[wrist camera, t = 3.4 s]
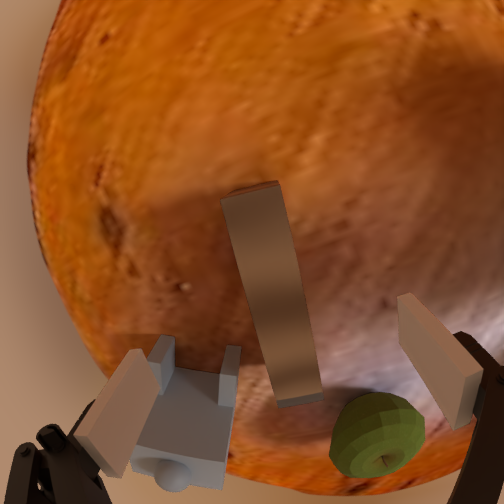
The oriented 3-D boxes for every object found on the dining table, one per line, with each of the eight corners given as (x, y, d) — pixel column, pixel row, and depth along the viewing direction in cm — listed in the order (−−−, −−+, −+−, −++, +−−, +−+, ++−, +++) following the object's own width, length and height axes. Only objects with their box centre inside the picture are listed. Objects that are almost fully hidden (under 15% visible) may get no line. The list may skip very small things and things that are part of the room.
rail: (232, 191, 27) (219, 199, 20) (277, 180, 27) (279, 185, 20) (277, 363, 31) (278, 408, 25) (315, 355, 31) (324, 399, 24)
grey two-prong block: (161, 334, 31) (104, 430, 17) (241, 346, 31) (223, 457, 17) (164, 396, 34) (125, 489, 20) (234, 407, 34) (219, 510, 20)
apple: (400, 358, 31) (433, 416, 21) (412, 413, 33) (436, 467, 23) (311, 394, 32) (320, 461, 23) (335, 443, 35) (346, 502, 25)
